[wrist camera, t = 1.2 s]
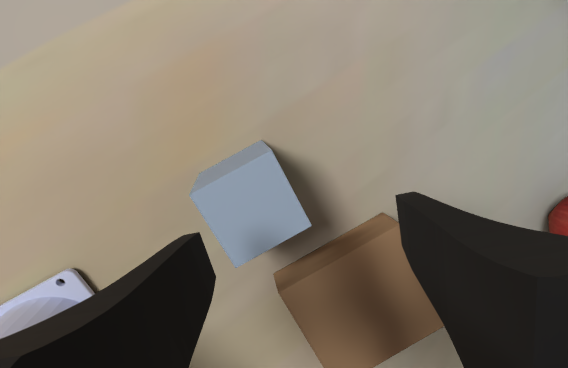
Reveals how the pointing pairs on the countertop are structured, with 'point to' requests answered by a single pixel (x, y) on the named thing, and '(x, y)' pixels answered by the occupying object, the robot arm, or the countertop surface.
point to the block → (248, 203)
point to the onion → (559, 218)
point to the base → (358, 297)
